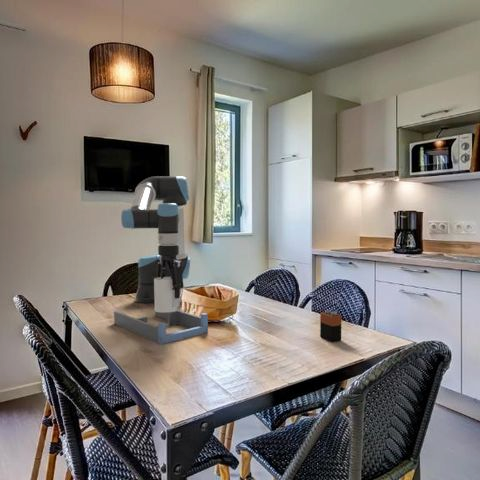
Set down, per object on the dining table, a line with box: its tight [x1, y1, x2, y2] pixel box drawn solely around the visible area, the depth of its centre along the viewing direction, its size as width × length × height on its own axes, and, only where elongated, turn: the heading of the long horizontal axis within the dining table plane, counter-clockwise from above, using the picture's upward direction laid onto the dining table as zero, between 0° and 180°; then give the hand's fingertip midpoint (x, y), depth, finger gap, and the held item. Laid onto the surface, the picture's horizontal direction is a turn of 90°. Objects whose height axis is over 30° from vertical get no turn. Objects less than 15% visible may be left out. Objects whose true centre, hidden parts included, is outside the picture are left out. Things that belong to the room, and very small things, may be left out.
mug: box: [153, 277, 184, 313], centre depth 148 cm, size 12×8×12 cm
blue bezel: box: [157, 312, 209, 345], centre depth 142 cm, size 20×2×7 cm, turn 133°
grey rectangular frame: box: [113, 309, 201, 344], centre depth 155 cm, size 20×34×5 cm, turn 43°
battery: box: [319, 309, 342, 343], centre depth 139 cm, size 4×7×10 cm, turn 27°
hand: (169, 304), depth 148 cm, fingers closed on mug, 8 cm apart
